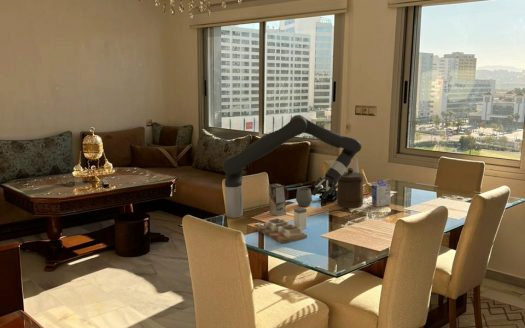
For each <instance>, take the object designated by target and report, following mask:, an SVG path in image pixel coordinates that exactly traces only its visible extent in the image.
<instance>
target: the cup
mask: <svg viewBox="0 0 525 328" xmlns="http://www.w3.org/2000/svg"><path fill="white" fill-rule="evenodd" d="M295 196H296V197H295V201H296V202H297V205H298V206H299V207H302V208H306V207H308V206H310V205H311V203H312V201H313V194H312V191H311V188H309V187H298V188H297V189H296V195H295Z"/></svg>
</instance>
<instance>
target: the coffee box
mask: <svg viewBox="0 0 525 328" xmlns="http://www.w3.org/2000/svg"><path fill="white" fill-rule="evenodd" d="M286 196H287V195H286V186H285V185H282V184H280V183H272V184H268V207H269V209H268V210H269V212H268V213H269V214H270V213H271V214H272V215H274V216H277V217H278V216H279V217H280V216H284V215H286V214H287V204H286V203H287V200H286Z"/></svg>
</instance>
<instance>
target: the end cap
mask: <svg viewBox="0 0 525 328" xmlns="http://www.w3.org/2000/svg"><path fill="white" fill-rule="evenodd" d="M325 191H326V188H321V189H320V190H319V191H318V193H319V194H320V195H319V197H318V198H319V201H320V202H327V203H335V202H337V189H336V190H335V191H334V193H333V194H332V193H330V194H329V195H328V196H327V198H326V199H323V198H322V195H323V194H324V193H325Z"/></svg>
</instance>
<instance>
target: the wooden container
mask: <svg viewBox="0 0 525 328" xmlns="http://www.w3.org/2000/svg"><path fill="white" fill-rule="evenodd" d="M354 170H355V169H354V168H353V167H349V168H348V167H347V171H345V172H344V173H343V175H342V176H341V178H340V179H339V180H338V182H337V183H338V184H339V185H338V187H337V188H336V190H337V200H336V203H337V206H338V207H341V208H345V209H354V208H355V209H356V208H360V207H363V206H364V205H363V204H364V173H361V172H357V171H354Z"/></svg>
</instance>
